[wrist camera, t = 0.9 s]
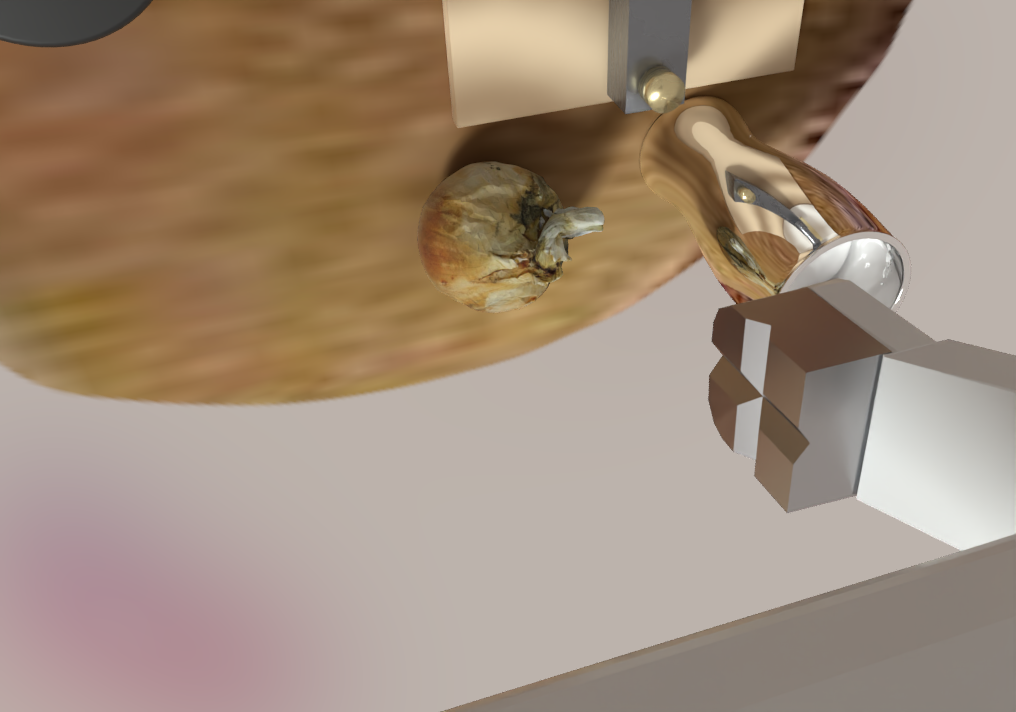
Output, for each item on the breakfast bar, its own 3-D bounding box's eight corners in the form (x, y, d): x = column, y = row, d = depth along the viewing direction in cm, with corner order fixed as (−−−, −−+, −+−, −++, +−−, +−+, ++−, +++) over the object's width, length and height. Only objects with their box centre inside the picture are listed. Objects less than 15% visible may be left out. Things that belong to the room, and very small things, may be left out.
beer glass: (720, 211, 55) (869, 368, 44) (614, 199, 52) (742, 362, 41) (769, 96, 51) (945, 235, 40) (657, 77, 49) (811, 220, 37)
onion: (428, 121, 47) (470, 198, 41) (571, 154, 50) (630, 230, 44) (386, 254, 50) (419, 342, 44) (521, 276, 54) (569, 361, 48)
